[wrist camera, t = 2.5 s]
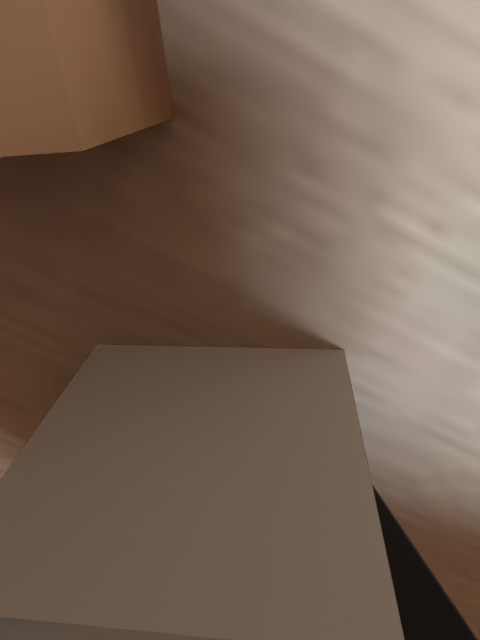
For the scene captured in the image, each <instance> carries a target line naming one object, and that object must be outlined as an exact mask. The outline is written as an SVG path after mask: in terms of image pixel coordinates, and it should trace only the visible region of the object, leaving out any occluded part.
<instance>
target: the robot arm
mask: <svg viewBox="0 0 480 640" xmlns="http://www.w3.org/2000/svg"><path fill="white" fill-rule="evenodd" d="M372 486H373V485H372ZM373 491H374V496H375V501H376V506H377V510H378V515H379V520H380V525H381V530H382V534H383V539H384V544H385V549H386V554H387V558H388V563H389V568H390V573H391V578H392V582H393V587H394V592H395V597H396V601H397V606H398V611H399V616H400V621H401V625H402V630H403V635H404V640H478V639H477V637H476V636H475V634H474V633H473V632H472V630H471V629H470V627H469V626H468V624H467V623H466V621H465V620H464V618H463V617H462V615H461V614H460V612H459V611H458V609H457V608H456V607H455V605H454V604H453V602H452V601H451V599H450V598H449V596H448V595H447V593H446V592H445V590H444V589H443V587H442V586H441V585H440V583H439V582H438V580H437V579H436V577H435V576H434V574H433V573H432V571H431V570H430V568H429V567H428V565H427V564H426V562H425V561H424V560H423V558H422V557H421V555H420V554H419V552H418V551H417V549H416V548H415V546H414V545H413V543H412V542H411V540H410V539H409V537H408V536H407V535H406V533H405V532H404V530H403V529H402V527H401V526H400V524H399V523H398V521H397V520H396V518H395V517H394V515H393V514H392V513H391V511H390V510H389V508H388V507H387V505H386V504H385V502H384V501H383V499H382V498H381V496H380V495H379V493H378V492H377V490H376V489H375V488H374V486H373Z"/></svg>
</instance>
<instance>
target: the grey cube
mask: <svg viewBox="0 0 480 640" xmlns="http://www.w3.org/2000/svg"><path fill="white" fill-rule="evenodd" d="M0 640H404V635H403V630H402V625H401V621H400V616H399V611H398V606H397V601H396V597H395V592H394V587H393V582H392V578H391V573H390V568H389V563H388V558H387V554H386V549H385V544H384V539H383V534H382V530H381V525H380V520H379V515H378V510H377V506H376V501H375V496H374V491H373V486H372V482H371V477H370V472H369V467H368V462H367V458H366V453H365V448H364V443H363V438H362V434H361V429H360V424H359V419H358V414H357V410H356V405H355V400H354V395H353V391H352V386H351V381H350V376H349V371H348V367H347V362H346V357H345V352H344V350H339V349H293V348H246V347H199V346H153V345H106V344H97V345H96V346H95V348H94V349H93V350H92V352H91V353H90V355H89V356H88V357H87V359H86V360H85V362H84V363H83V364H82V366H81V367H80V369H79V370H78V371H77V373H76V374H75V376H74V377H73V378H72V380H71V381H70V383H69V384H68V385H67V387H66V388H65V390H64V391H63V392H62V394H61V395H60V397H59V398H58V400H57V401H56V402H55V404H54V405H53V407H52V408H51V409H50V411H49V412H48V414H47V415H46V416H45V418H44V419H43V421H42V422H41V423H40V425H39V426H38V428H37V429H36V430H35V432H34V433H33V435H32V436H31V437H30V439H29V440H28V442H27V443H26V444H25V446H24V447H23V449H22V450H21V451H20V453H19V454H18V456H17V457H16V458H15V460H14V461H13V463H12V464H11V465H10V467H9V468H8V470H7V471H6V472H5V474H4V475H3V477H2V478H1V479H0Z"/></svg>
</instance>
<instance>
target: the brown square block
mask: <svg viewBox="0 0 480 640" xmlns="http://www.w3.org/2000/svg"><path fill="white" fill-rule="evenodd" d="M170 119H173V111H172V104H171V97H170V90H169V83H168V76H167V69H166V63H165V56H164V49H163V42H162V35H161V28H160V21H159V14H158V7H157V0H0V157H8V156H22V155H35V154H49V153H62V152H76V151H84V150H87V149H90V148H92V147H95V146H98V145H101V144H103V143H106V142H109V141H112V140H115V139H117V138H120V137H123V136H126V135H128V134H131V133H134V132H137V131H140V130H142V129H145V128H148V127H151V126H153V125H156V124H159V123H162V122H165V121H167V120H170Z"/></svg>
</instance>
